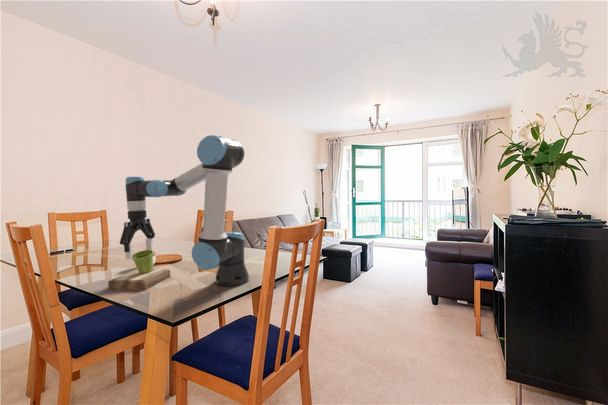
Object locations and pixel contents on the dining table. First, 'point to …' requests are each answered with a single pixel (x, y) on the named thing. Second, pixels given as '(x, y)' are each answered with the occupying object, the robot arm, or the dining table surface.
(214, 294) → the dining table surface
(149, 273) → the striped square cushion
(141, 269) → the plant pot
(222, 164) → the robot arm
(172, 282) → the dining table surface
